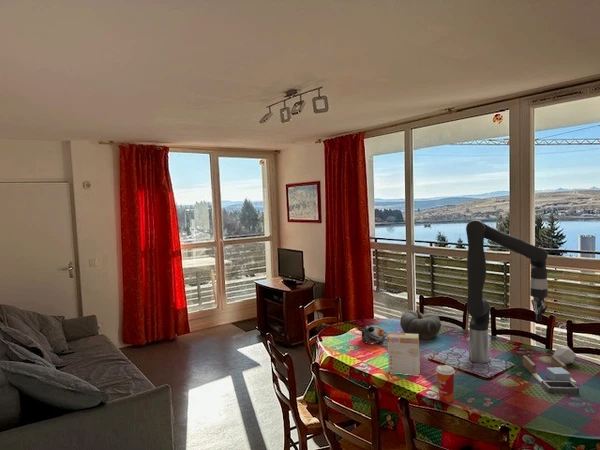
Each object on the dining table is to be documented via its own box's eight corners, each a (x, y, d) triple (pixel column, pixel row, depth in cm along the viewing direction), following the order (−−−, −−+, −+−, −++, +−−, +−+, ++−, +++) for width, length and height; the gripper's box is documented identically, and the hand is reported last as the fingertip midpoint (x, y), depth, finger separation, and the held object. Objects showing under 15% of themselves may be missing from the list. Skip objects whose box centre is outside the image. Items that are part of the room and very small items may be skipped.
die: (575, 368, 200) (581, 350, 203) (558, 359, 202) (564, 341, 204) (564, 368, 208) (570, 350, 211) (548, 359, 210) (554, 342, 212)
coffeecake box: (420, 371, 205) (418, 333, 204) (419, 377, 198) (418, 338, 197) (390, 368, 210) (388, 331, 208) (388, 374, 203) (387, 336, 202)
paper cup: (433, 396, 178) (432, 365, 178) (450, 394, 179) (449, 363, 178) (441, 404, 170) (440, 372, 170) (458, 403, 171) (458, 371, 170)
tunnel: (532, 375, 194) (532, 364, 194) (522, 365, 206) (522, 355, 206) (566, 375, 192) (566, 365, 192) (554, 365, 204) (554, 355, 203)
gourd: (397, 325, 272) (400, 301, 269) (434, 331, 269) (439, 306, 266) (400, 341, 248) (404, 315, 245) (441, 348, 245) (446, 321, 242)
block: (554, 383, 185) (554, 373, 185) (546, 376, 192) (546, 367, 192) (570, 383, 185) (570, 373, 185) (561, 376, 192) (561, 367, 192)
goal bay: (540, 383, 185) (540, 381, 185) (532, 375, 194) (532, 373, 194) (576, 384, 183) (576, 382, 183) (566, 375, 192) (566, 373, 192)
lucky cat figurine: (385, 338, 255) (390, 322, 248) (382, 351, 245) (387, 335, 238) (362, 330, 259) (366, 314, 252) (358, 343, 249) (362, 327, 242)
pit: (549, 393, 176) (549, 387, 176) (542, 385, 183) (542, 380, 183) (579, 393, 174) (579, 388, 174) (570, 386, 181) (570, 381, 181)
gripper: (525, 284, 208) (525, 317, 209) (536, 289, 195) (536, 325, 196) (541, 284, 207) (541, 317, 208) (553, 289, 194) (553, 325, 195)
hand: (538, 320), depth 202 cm, fingers closed
